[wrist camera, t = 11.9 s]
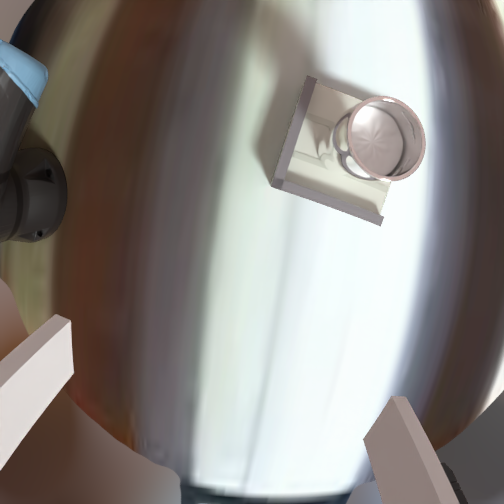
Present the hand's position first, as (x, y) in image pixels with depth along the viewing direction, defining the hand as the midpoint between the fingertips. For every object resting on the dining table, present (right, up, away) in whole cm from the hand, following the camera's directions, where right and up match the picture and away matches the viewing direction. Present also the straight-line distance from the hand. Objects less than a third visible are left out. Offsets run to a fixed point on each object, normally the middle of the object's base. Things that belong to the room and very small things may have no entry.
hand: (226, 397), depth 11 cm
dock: (+12, +18, +27) cm, 35 cm away
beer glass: (+12, +18, +24) cm, 32 cm away
